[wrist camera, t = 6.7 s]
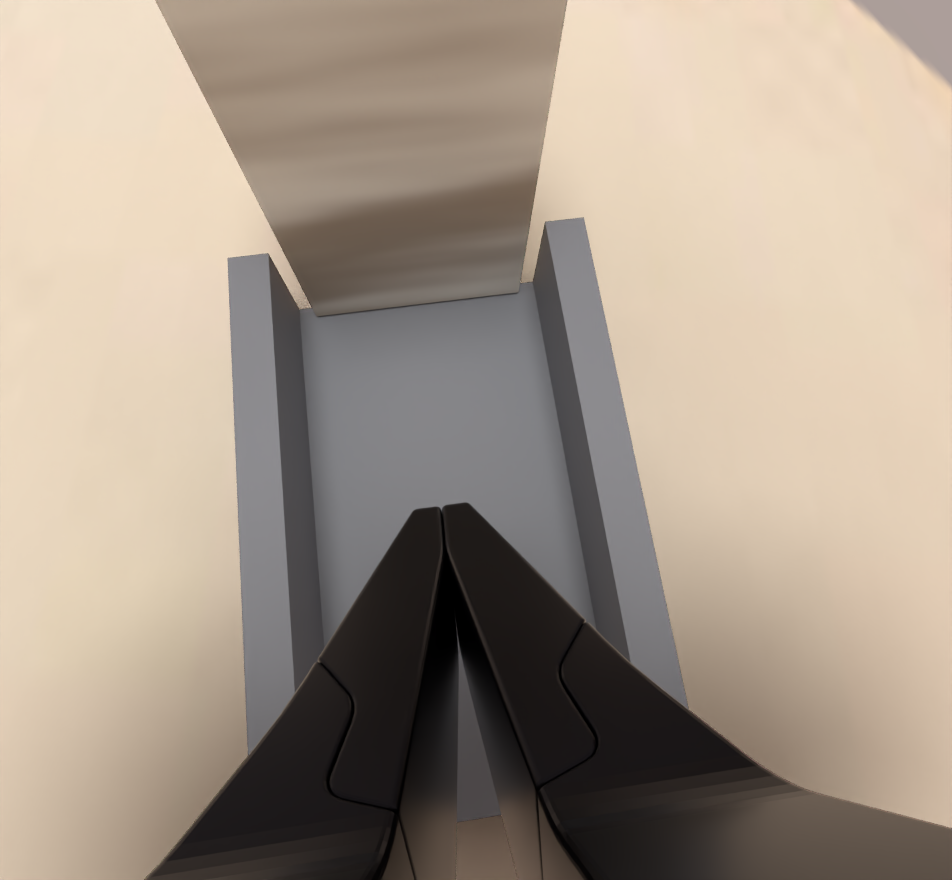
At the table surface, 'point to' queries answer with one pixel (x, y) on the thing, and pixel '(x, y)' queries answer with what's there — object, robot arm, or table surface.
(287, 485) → the gray chute
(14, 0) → the table surface
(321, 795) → the robot arm
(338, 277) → the cream block
